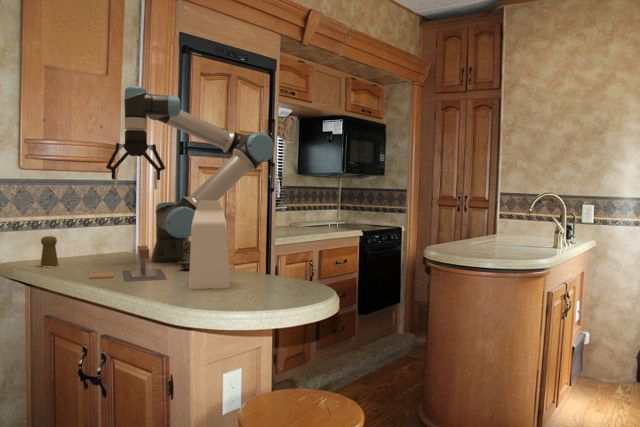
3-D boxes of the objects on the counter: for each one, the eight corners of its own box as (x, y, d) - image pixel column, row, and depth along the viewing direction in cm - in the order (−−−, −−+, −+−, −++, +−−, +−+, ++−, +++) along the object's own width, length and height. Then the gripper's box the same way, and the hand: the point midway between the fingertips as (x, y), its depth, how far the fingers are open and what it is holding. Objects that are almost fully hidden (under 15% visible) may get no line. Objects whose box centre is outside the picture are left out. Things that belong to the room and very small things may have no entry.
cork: (53, 267, 199) (52, 237, 198) (36, 267, 199) (36, 237, 198) (61, 264, 205) (61, 235, 204) (45, 264, 205) (45, 235, 204)
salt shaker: (198, 270, 195) (197, 237, 195) (192, 273, 189) (192, 238, 189) (182, 270, 196) (182, 236, 195) (176, 272, 190) (175, 238, 189)
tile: (112, 272, 183) (113, 276, 175) (112, 277, 183) (113, 281, 175) (90, 273, 180) (89, 277, 173) (90, 278, 180) (89, 282, 173)
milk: (188, 289, 162) (188, 201, 160) (190, 282, 173) (190, 200, 172) (229, 288, 164) (229, 201, 163) (228, 281, 175) (228, 200, 174)
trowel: (130, 271, 187) (129, 246, 187) (154, 270, 190) (154, 245, 190) (132, 279, 173) (131, 251, 173) (158, 277, 176) (158, 250, 176)
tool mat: (160, 270, 194) (160, 268, 194) (167, 281, 174) (167, 279, 174) (121, 272, 189) (121, 270, 189) (124, 283, 169) (124, 281, 169)
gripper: (170, 132, 206) (170, 189, 207) (98, 129, 197) (99, 188, 198) (172, 131, 199) (172, 189, 200) (98, 127, 190) (99, 189, 191)
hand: (136, 189), depth 199 cm, fingers open, 13 cm apart
